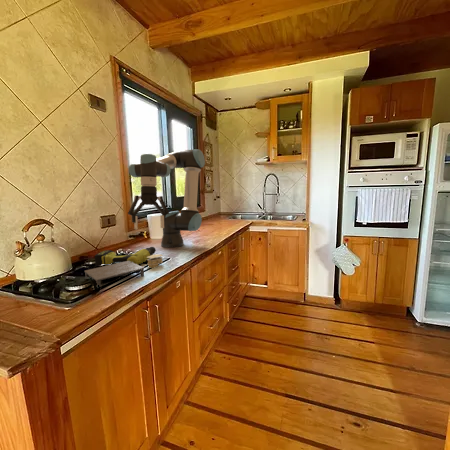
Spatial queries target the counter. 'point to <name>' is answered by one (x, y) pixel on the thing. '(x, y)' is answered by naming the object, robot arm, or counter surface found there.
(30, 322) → the counter surface
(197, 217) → the robot arm
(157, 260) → the stacked layers on plate
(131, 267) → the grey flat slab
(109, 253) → the cordless drill
